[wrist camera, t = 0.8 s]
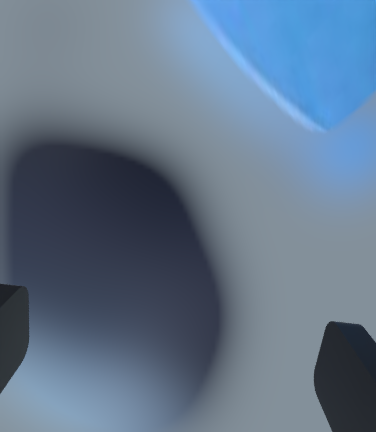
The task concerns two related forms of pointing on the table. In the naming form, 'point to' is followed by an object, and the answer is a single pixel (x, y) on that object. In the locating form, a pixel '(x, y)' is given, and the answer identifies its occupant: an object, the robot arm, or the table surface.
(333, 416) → the robot arm
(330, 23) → the table surface
